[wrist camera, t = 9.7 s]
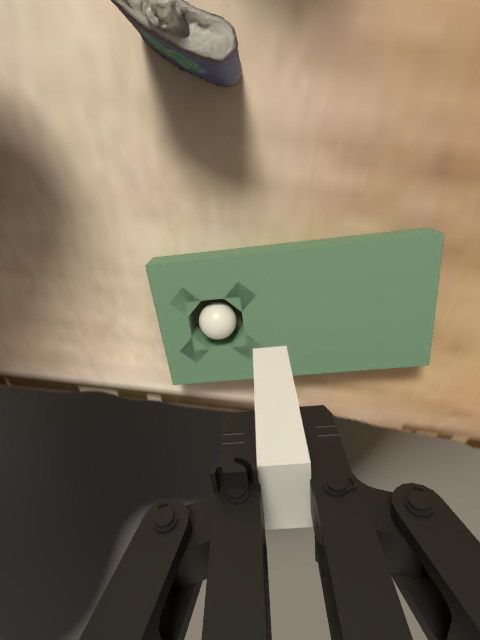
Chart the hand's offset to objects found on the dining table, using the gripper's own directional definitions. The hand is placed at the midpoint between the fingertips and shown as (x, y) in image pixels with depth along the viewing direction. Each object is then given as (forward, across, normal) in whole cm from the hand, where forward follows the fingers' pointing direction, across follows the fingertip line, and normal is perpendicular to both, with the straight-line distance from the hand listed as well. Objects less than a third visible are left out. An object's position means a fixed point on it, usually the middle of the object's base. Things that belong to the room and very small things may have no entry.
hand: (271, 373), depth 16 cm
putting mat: (+22, +3, -7) cm, 24 cm away
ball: (+21, -5, -7) cm, 22 cm away
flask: (+23, -4, +17) cm, 29 cm away
